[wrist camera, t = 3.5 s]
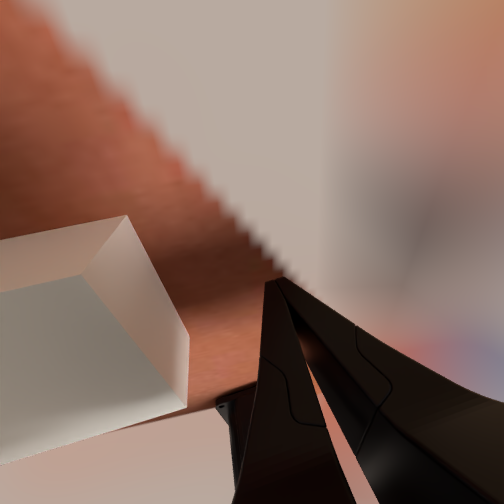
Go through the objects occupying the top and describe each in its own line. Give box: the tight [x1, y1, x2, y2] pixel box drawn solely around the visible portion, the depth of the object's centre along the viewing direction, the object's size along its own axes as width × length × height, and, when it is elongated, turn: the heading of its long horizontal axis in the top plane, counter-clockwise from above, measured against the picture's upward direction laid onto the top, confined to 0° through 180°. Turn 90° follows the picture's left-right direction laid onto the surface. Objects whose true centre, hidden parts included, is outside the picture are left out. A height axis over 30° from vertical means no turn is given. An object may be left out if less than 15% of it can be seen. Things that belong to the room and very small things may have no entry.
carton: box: [0, 215, 190, 465], centre depth 8 cm, size 8×8×4 cm
